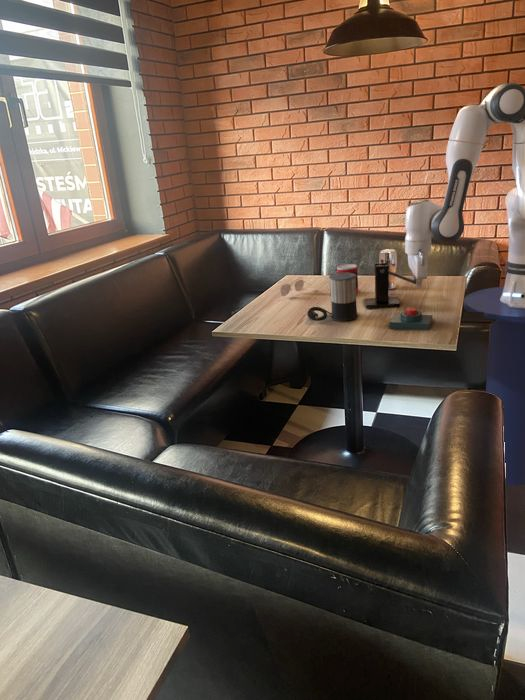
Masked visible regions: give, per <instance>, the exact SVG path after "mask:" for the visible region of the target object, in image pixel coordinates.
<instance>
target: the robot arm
mask: <svg viewBox="0 0 525 700" xmlns="http://www.w3.org/2000/svg"><path fill="white" fill-rule="evenodd" d="M506 123H507V124H508V125H509V126H510V128H511V133H512V151H511V152H512V153H511V158H512V160H511V165H512V166H511V169H512V172H513V176H514V180H515V185H516V186H515V187H513V188H512V189H510V190H509V191H508V192H507V194H506V196H505V199H504V205H505V208H506V216H507V218H506V219H507V226H508V227H507V228H508V229H507V230H508V252H507V260H506V262H505V263H506V264H505V271H504V273H505V281H504V285H503V287H504V289H503V293H502V295H501V298H500V301H501V302H503V303H505V304H507V305H508V306H509V307H513V308H525V88H524V86H522V85H521V84H520V83H516V82H507V83H503V84H500V85H497V86H496V87H494V88H493V89H491V90H490V91H489V92H488V93H486V94H485V95H484V97H483V99H481V101H479V103H478V104H469V105H468V104H467V105H465V106H463V107H462V108H461V109H460V110H459V111H458V113H457V114H456V117H455V119H454V123H453V124H452V127H451V131H450V133H449V137H448V141H447V145H446V151H445V165H446V169H447V174H448V175H447V176H448V178H447V179H448V180H447V187H446V191H445V195H444V200H443V204H442V206H441V205H439V204H437V203H434V202H433V201H431V200H430V199H428V198H423V199H419V200H414V201H412V202H411V203H409V204H408V205H407V206H406V211H405V221H404V228H405V232H406V233H405V238H404V253H405V254H407V263H408V268H409V269H410V271H411V272H412V278H413V279H412V280H416V284H415V287H416V289H422V288H423V281H424V280H426V279H428V254H430V253H431V252H432V237H433V238H434V239H435V240H436V241H437V242H439V243H441V244H452V243H454V242H456V241H457V240H459V239H460V238H462V235H463V233H464V231H465V220H464V215H463V213H464V207H465V203H466V198H467V193H468V190H469V186H470V182H471V179H472V176H473V174H474V172H475V170H476V167H477V165H478V162H479V159H480V158H481V155H482V151H483V148H484V145H485V141H486V136H487V134H488V132H489V130H490V128H491V127H492V126H493V125H494V124H495V125H496V124H506Z"/></svg>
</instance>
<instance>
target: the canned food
mask: <svg viewBox="0 0 525 700" xmlns="http://www.w3.org/2000/svg"><path fill="white" fill-rule="evenodd" d="M336 272H337V273H353V274H356V277H355V279H356V295H357V294H358V293H359V277H358V265H357V264H354V263H353V264H352V263H346V264H340V265H338V266H336ZM337 273H336V274H337Z"/></svg>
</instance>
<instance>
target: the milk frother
mask: <svg viewBox="0 0 525 700" xmlns="http://www.w3.org/2000/svg"><path fill="white" fill-rule="evenodd" d="M355 277H356V274H353V273H333V274H331V275H329V276H328V279H329V288H330V301H331V302H330V303H331V312H329V311H328V310H326V309H325V308H323V307H320V306H312V307H310V308H309V309H308V310H307V313H306V316H307V318H308V319H309V320H312V321H314V322H315V321H316V322H318V321H324V320H325V319H327V317H328V314H329V315H331V317H330V318H331V319H332V320H335V321H341V322H345V321H353V320H355V319H356V318H358V316H359V315H358V309H357V294H356V279H355ZM316 311H317V312H321V313H322V314H323V315H322V316H320V317H319V313H317V312H316Z"/></svg>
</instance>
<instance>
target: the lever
mask: <svg viewBox="0 0 525 700" xmlns="http://www.w3.org/2000/svg"><path fill="white" fill-rule="evenodd" d="M379 266H381V265H379ZM388 271H389V270H388ZM389 274H390V275H393V276H395V278H397V279H401V280H403V281H405V282H409V283H411V284H413V285H416V280H413V279H412V278H410V277H407V276H405V275H402V274H399V273H397V272H396V273H394V272H391V271H389Z"/></svg>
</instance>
